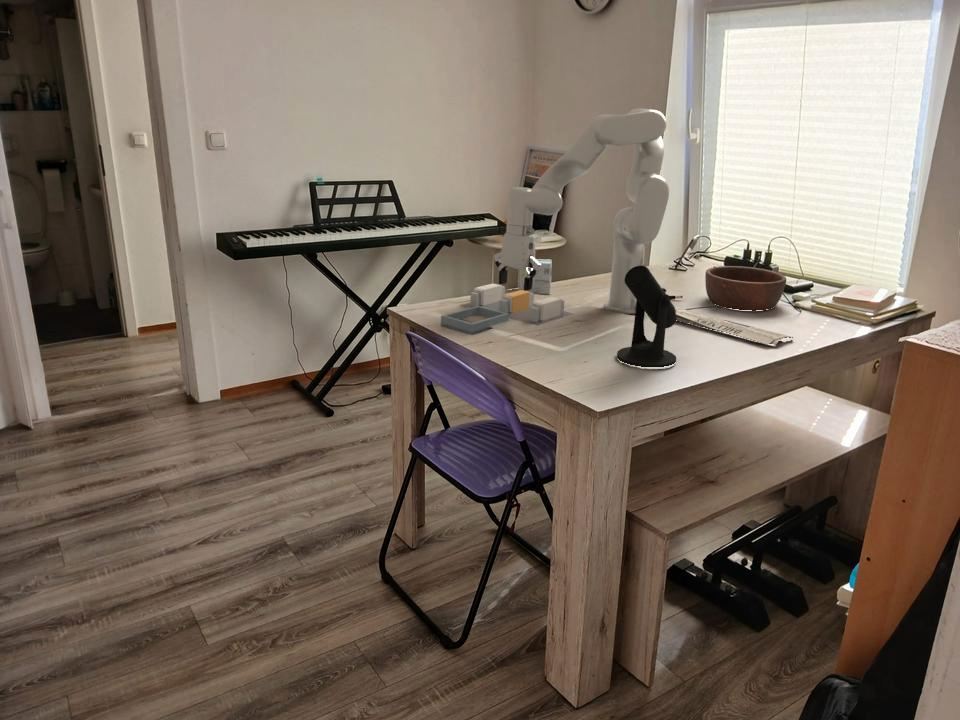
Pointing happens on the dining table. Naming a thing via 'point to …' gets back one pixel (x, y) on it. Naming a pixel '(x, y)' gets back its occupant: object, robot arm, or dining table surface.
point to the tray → (473, 328)
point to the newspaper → (729, 327)
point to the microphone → (658, 311)
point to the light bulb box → (539, 278)
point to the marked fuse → (518, 300)
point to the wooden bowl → (744, 287)
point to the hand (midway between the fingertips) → (515, 286)
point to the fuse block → (524, 315)
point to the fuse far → (489, 293)
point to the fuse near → (548, 307)
